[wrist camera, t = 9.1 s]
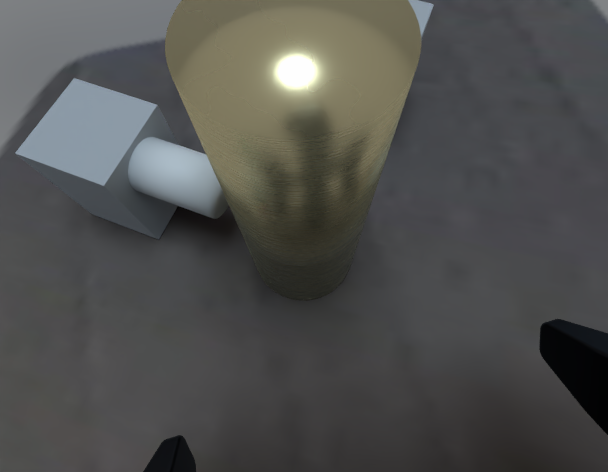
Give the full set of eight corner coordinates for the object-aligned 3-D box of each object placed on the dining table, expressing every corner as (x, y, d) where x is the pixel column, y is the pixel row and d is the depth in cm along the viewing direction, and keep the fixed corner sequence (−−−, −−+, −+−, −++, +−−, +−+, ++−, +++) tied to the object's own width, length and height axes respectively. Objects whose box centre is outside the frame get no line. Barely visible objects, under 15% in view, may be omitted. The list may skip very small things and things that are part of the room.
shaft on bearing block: (91, 213, 20) (15, 153, 14) (131, 153, 21) (74, 78, 16) (222, 264, 19) (190, 217, 13) (255, 196, 20) (237, 130, 15)
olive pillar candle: (357, 296, 18) (445, 127, 6) (256, 303, 18) (155, 147, 6) (346, 205, 20) (398, -57, 8) (253, 212, 20) (172, -43, 8)
